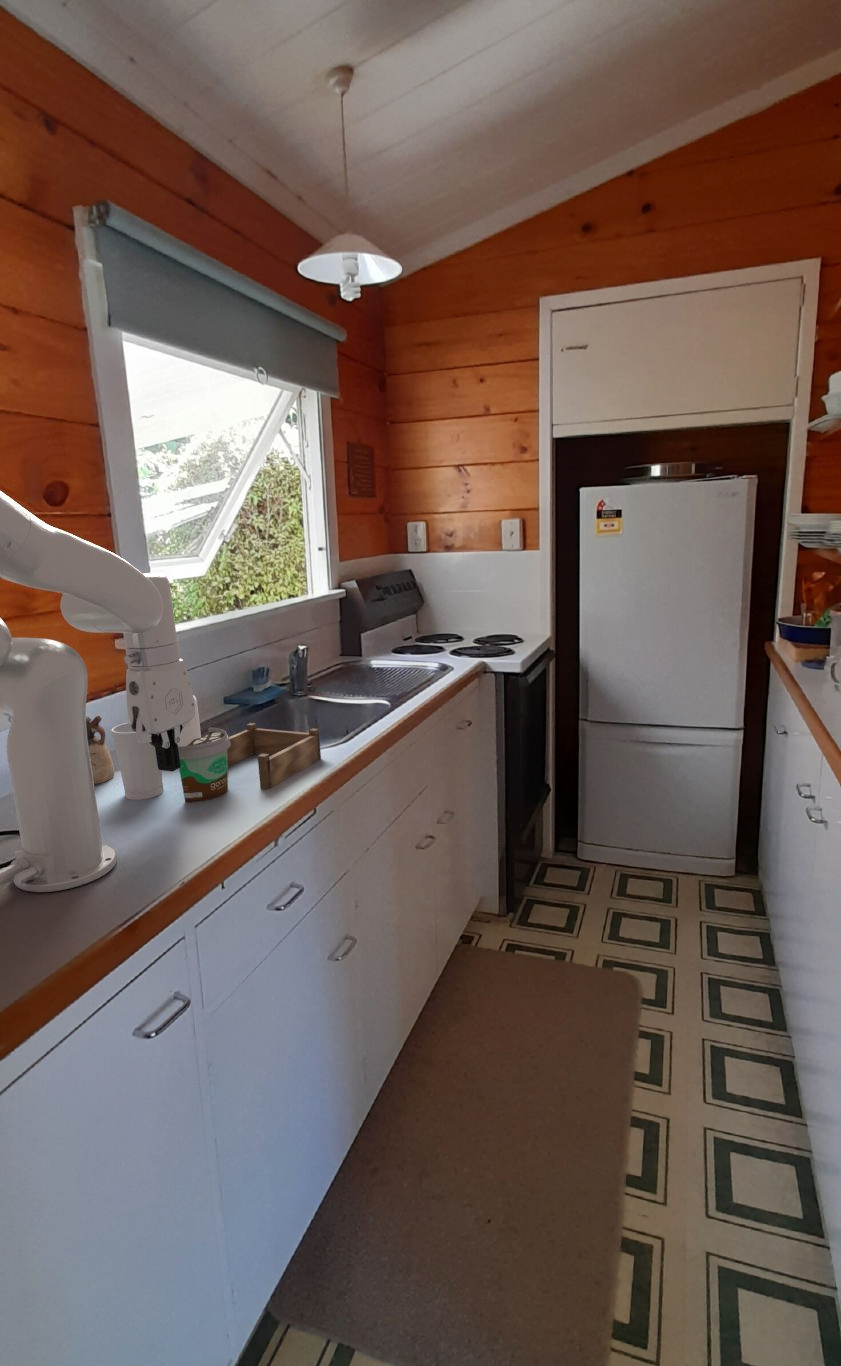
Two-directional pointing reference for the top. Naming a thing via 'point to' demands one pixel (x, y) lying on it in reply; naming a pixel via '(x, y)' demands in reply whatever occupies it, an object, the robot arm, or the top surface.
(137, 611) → the robot arm
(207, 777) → the food container
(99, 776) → the figurine
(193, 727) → the pill bottle
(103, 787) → the top surface
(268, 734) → the crate
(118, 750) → the cup
